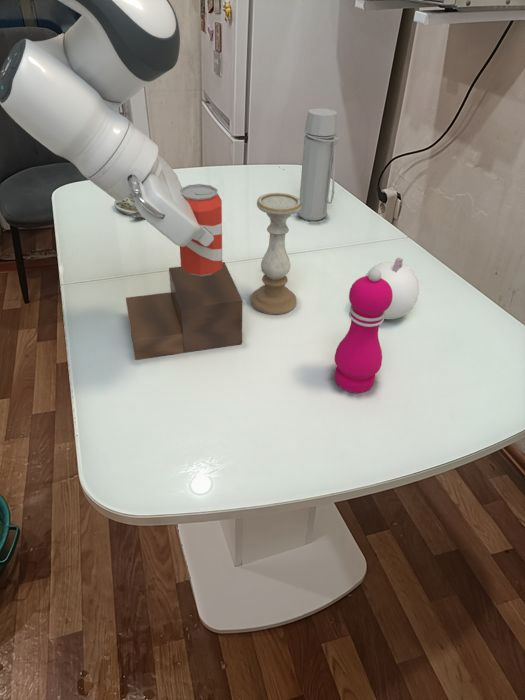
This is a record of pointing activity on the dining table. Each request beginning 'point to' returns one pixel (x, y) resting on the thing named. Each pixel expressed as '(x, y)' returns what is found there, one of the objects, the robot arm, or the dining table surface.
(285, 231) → the candle holder
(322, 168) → the water bottle
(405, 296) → the ornament
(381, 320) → the pepper mill
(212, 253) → the beverage can
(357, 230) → the dining table surface
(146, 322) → the step shelf
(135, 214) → the avocado toast plate
